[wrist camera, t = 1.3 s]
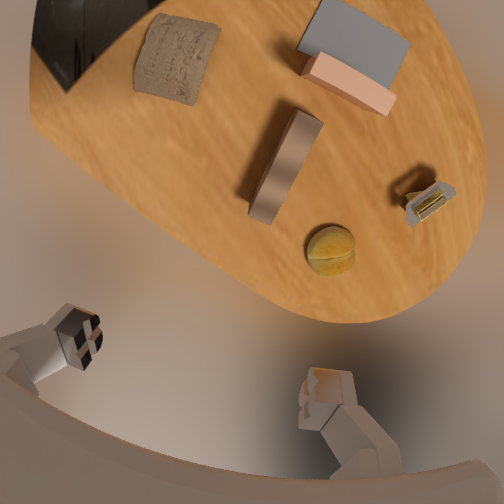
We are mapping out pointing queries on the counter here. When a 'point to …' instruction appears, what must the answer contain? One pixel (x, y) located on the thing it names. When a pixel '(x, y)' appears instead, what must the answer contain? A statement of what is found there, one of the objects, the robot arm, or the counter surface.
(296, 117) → the bar
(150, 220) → the counter surface
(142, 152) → the counter surface
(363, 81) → the tile
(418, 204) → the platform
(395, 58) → the mat
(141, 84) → the clay tablet
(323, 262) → the bread roll
